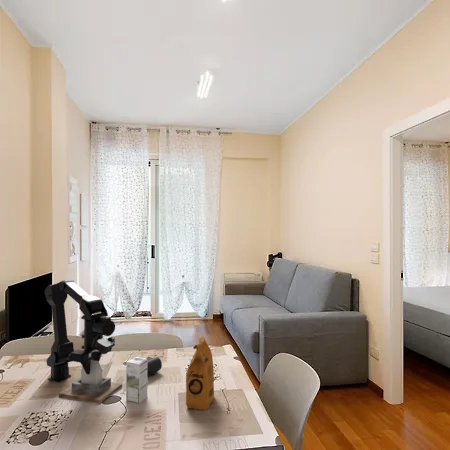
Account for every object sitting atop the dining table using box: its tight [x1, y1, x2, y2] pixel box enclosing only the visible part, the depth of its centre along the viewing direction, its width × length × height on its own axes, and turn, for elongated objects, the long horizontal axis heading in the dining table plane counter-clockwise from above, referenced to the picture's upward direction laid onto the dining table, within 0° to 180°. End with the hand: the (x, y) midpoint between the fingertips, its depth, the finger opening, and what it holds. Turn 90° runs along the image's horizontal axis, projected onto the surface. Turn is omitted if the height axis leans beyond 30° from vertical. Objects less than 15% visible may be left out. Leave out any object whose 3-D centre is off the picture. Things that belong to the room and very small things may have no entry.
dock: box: [58, 376, 123, 404], centre depth 133 cm, size 18×14×4 cm
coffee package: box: [185, 336, 215, 411], centre depth 125 cm, size 10×12×22 cm
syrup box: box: [125, 356, 148, 404], centre depth 127 cm, size 6×6×14 cm
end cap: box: [146, 356, 163, 378], centre depth 148 cm, size 10×7×7 cm
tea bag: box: [80, 360, 103, 385], centre depth 133 cm, size 4×7×10 cm, turn 73°
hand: (91, 372), depth 133 cm, fingers closed on tea bag, 4 cm apart
